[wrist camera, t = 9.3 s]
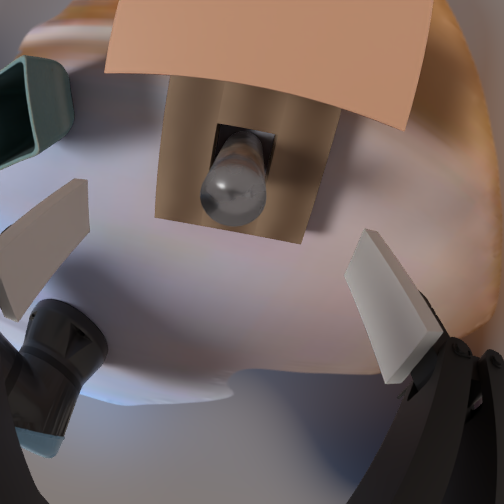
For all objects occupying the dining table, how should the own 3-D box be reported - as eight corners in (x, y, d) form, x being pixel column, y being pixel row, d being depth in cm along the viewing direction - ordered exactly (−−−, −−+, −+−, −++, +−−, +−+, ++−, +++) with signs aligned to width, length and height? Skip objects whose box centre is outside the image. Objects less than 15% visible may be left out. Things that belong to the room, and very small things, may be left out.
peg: (220, 164, 26) (196, 220, 16) (227, 128, 25) (204, 159, 14) (258, 171, 27) (258, 231, 17) (266, 135, 25) (273, 172, 15)
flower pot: (93, 131, 24) (39, 154, 17) (36, 150, 25) (-16, 178, 17) (82, 53, 20) (25, 52, 12) (25, 82, 20) (-31, 94, 12)
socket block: (163, 204, 29) (154, 217, 26) (181, 66, 21) (172, 64, 19) (297, 229, 30) (300, 244, 27) (335, 96, 23) (344, 98, 20)
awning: (174, 76, 22) (104, 73, 11) (199, -26, 16) (155, -93, 5) (337, 108, 23) (404, 131, 12) (362, 8, 17) (436, -34, 6)
